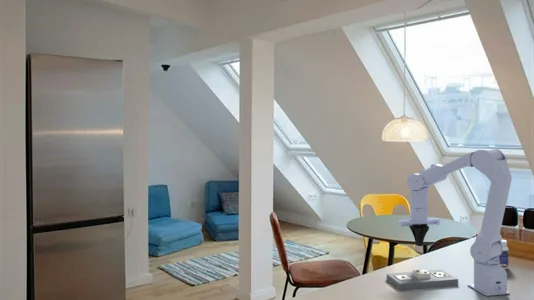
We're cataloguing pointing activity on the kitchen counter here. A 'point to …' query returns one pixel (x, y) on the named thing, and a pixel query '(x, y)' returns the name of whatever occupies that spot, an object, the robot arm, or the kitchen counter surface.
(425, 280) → the button board
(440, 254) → the kitchen counter surface
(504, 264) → the pill bottle
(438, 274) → the tile three
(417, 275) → the tile two
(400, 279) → the tile one
